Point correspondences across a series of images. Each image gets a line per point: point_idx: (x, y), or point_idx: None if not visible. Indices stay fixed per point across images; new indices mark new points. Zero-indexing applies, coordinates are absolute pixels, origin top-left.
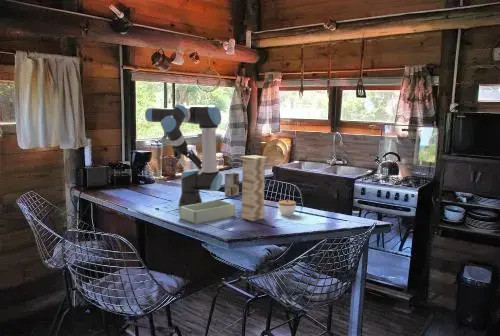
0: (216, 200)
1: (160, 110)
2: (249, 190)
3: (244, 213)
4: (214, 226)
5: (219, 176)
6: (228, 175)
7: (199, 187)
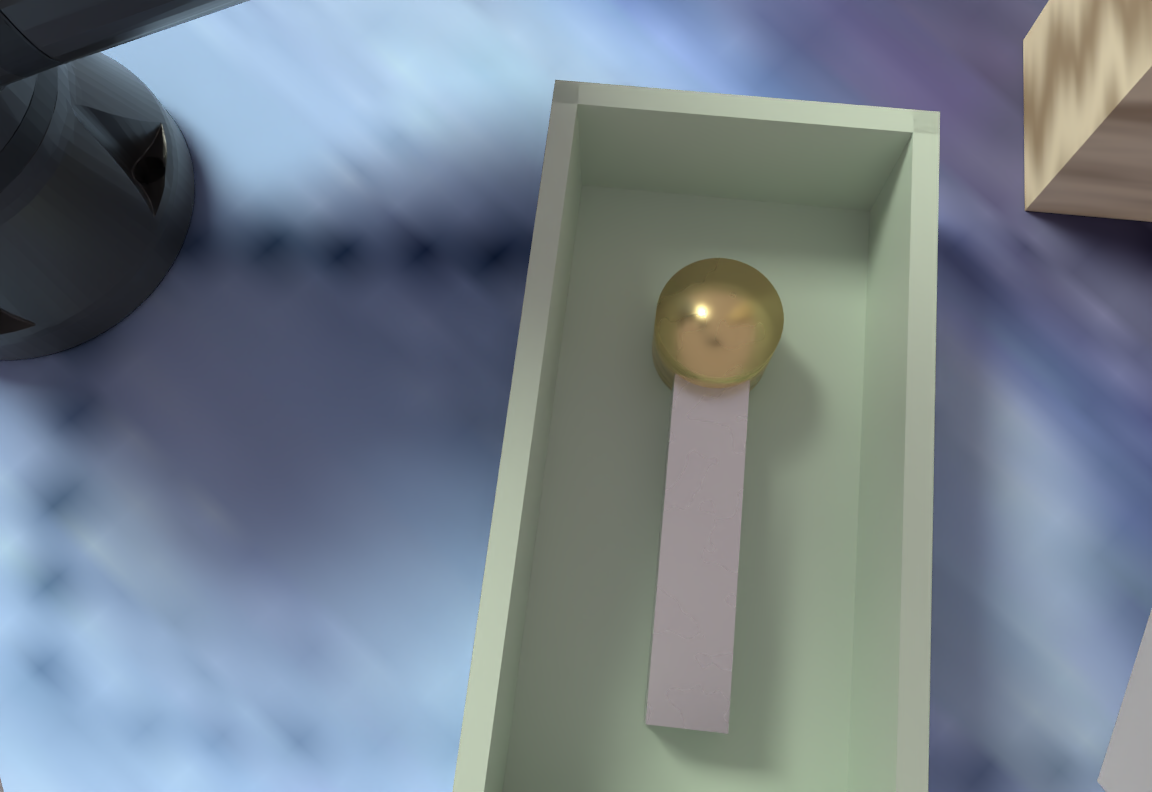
0: (554, 134)
1: None
2: None
3: (1109, 181)
4: None
5: None
6: None
7: (96, 50)
